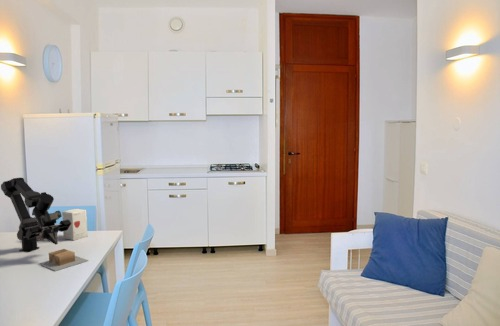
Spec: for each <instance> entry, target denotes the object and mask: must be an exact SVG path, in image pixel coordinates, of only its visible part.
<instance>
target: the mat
mask: <svg viewBox="0 0 500 326" xmlns="http://www.w3.org/2000/svg"><path fill="white" fill-rule="evenodd" d="M86 262H89V260H88V259H86V258H84V257H83V258H82V257H80V256H77V255H75V261H74V262H70V263H67V264H64V265H61V266H59V265H57V264H54V263H52V262H49V261H48V262H45V263H42V264H40V265H41V267H45V268H47V269H49V270H51V271H53V270H54V271H53V272H58V271H61V270H64V269H66V268H67V269H68V268H70V267H74V266H77V265H81V264H84V263H86Z"/></svg>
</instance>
